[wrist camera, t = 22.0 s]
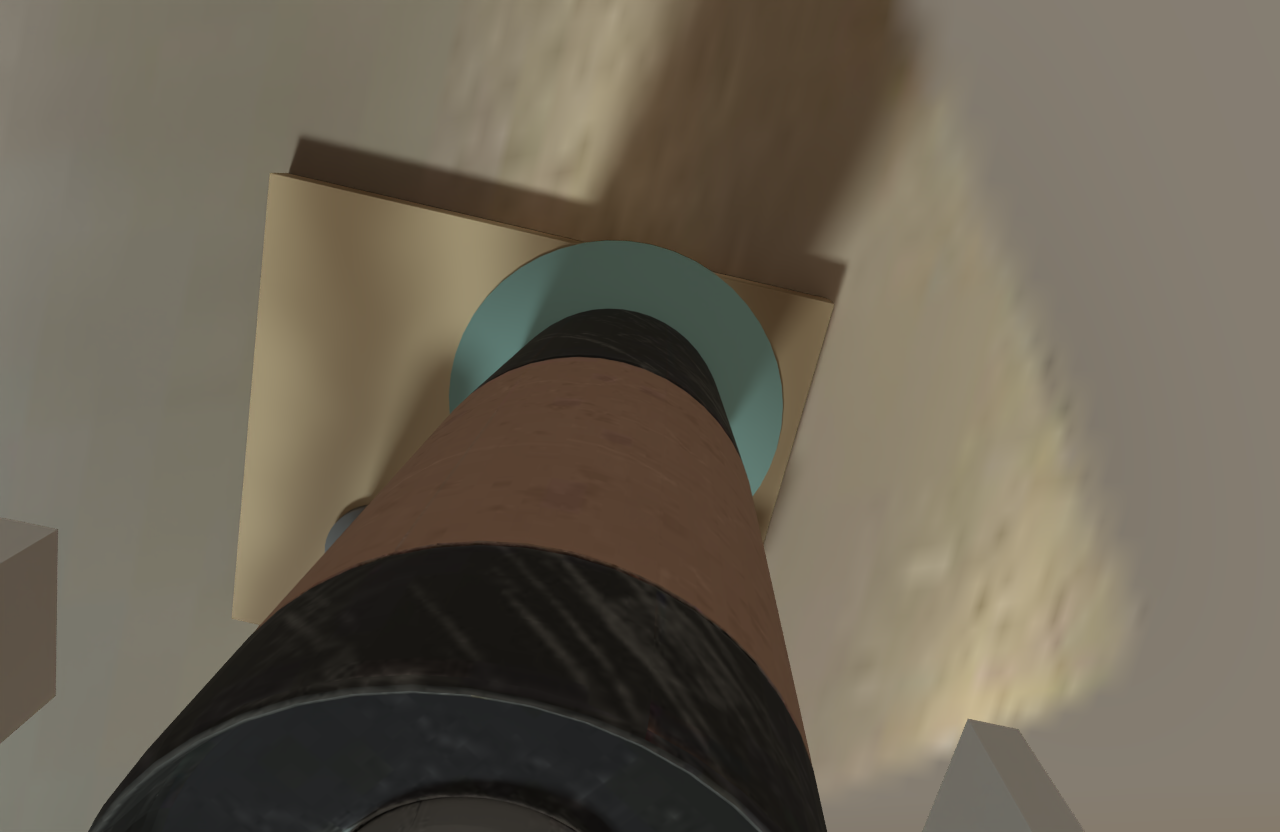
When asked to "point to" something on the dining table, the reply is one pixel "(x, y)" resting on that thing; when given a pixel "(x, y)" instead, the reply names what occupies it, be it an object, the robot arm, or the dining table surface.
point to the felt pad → (651, 289)
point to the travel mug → (518, 630)
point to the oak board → (397, 361)
